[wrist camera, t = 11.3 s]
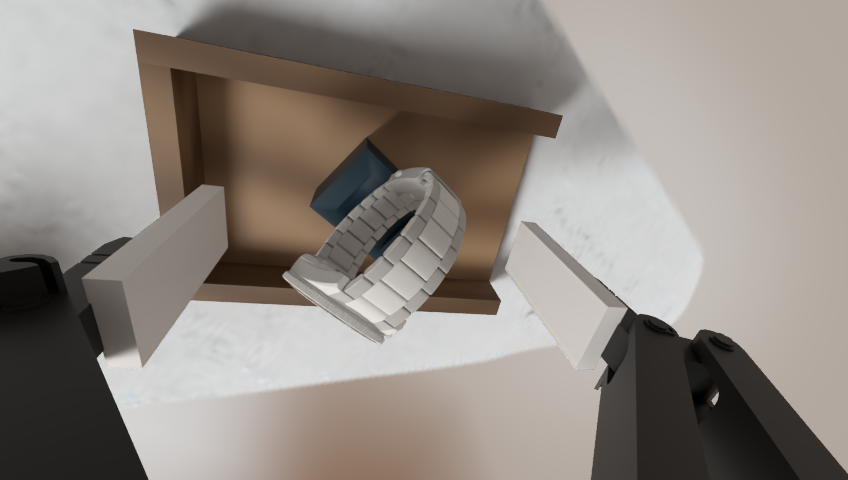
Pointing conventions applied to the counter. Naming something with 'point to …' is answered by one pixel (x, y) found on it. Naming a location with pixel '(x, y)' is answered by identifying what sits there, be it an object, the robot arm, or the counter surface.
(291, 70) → the walnut track
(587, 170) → the counter surface
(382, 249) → the watch
